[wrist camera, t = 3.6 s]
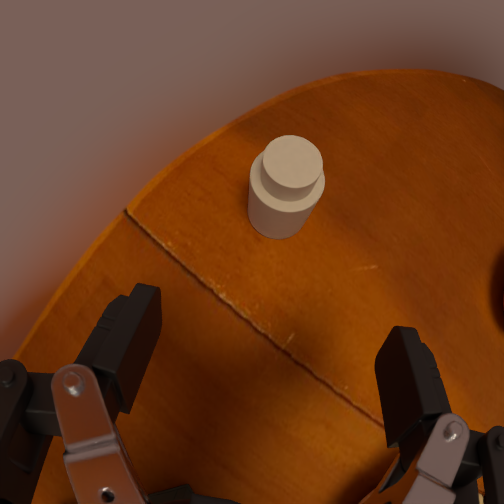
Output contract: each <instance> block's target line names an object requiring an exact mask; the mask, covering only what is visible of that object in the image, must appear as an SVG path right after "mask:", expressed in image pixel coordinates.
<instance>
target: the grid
mask: <svg viewBox="0 0 504 504" xmlns="http://www.w3.org/2000/svg"><path fill="white" fill-rule="evenodd" d="M192 493H193V494H195V493H194V492H193V490H192V489H191V488H190V486H189V484H186V485H182V486H179V487H175V488H172V489H168V490H164V491H160V492H156V493H152V494H148V497H149V499H150V500H151V502H152V504H161V503H164V502H168V501H173V500H181V499H191V494H192Z"/></svg>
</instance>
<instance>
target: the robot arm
mask: <svg viewBox="0 0 504 504" xmlns="http://www.w3.org/2000/svg"><path fill="white" fill-rule="evenodd" d="M161 327H162V309H161V291H160V288H159V287H156V286H151V285H146V284H142V283H137V284H136V285H135V287H134V289H133V290H132V292H131V294H130V295H129V297H128V296H124V295H120V296H118V297H117V298H116V299H114V300H113V301H112V302H110V303H109V304H108V306H107V308H106V309H105V311H104V312H103V314H102V317H100V319H99V321H98V322H97V325H96V326H95V327H94V329H93V331H92V333H91V334H90V336H89V338H88V339H87V341H86V343H85V345H84V346H83V348H82V350H81V352H80V353H79V355H78V357H77V359H76V360H75V362H74V363H73V364H69V365H66V366H63V367H62V368H60V369H59V370H58V371H57V372H56V373H33V372H27V370H26V368H25V367H24V365H23V364H22V363H21V362H19V361H17V360H13V359H8V360H4V361H1V362H0V504H31V502H32V499H33V495H34V492H35V489H36V486H37V482H38V479H39V476H40V473H41V470H42V467H43V464H44V461H45V458H46V455H47V452H48V449H49V447H50V444H51V441H52V438H53V436H62V438H63V442H64V445H65V452H64V453H63V459H64V464H65V467H66V470H67V474H68V477H69V480H70V483H71V485H72V488H73V491H74V494H75V496H76V499H77V502H78V504H152V502H151V500H150V499H149V497H148V495H147V493H146V491H145V489H144V487H143V485H142V483H141V481H140V479H139V477H138V475H137V473H136V471H135V469H134V467H133V465H132V462H131V460H130V458H129V456H128V453H127V451H126V448H125V446H124V444H123V441H122V439H121V436H120V434H119V431H118V429H117V426H116V423H115V421H116V419H117V416H118V413H119V411H120V412H123V413H126V414H130V411H131V408H132V406H133V403H134V400H135V398H136V395H137V392H138V390H139V387H140V384H141V382H142V379H143V377H144V374H145V371H146V369H147V366H148V364H149V361H150V359H151V356H152V354H153V351H154V348H155V346H156V344H157V341H158V339H159V336H160V332H161ZM375 374H376V380H377V385H378V391H379V396H380V402H381V408H382V414H383V420H384V427H385V433H386V441H387V448H392V447H399V450H400V453H399V454H398V455H397V456H396V457H395V459H394V461H393V462H392V464H391V466H390V467H389V469H388V470H387V472H386V474H385V475H384V477H383V478H382V480H381V481H380V483H379V484H378V486H377V487H376V489H375V490H374V492H373V493H372V494H371V496H370V497H369V498H368V499H367V500H366V501H365V502H364V503H362V504H480V502H479V494H478V486H477V479H478V478H480V477H481V476H483V482H484V489H485V497H486V503H485V504H504V427H502V426H494V427H493V428H491V429H490V430H489V431H488V432H487V433H481V432H477V431H473V430H469V428H468V426H467V424H466V422H465V421H464V420H463V419H462V418H461V417H460V416H458V415H456V414H453V413H452V411H451V408H450V405H449V401H448V398H447V395H446V391H445V388H444V385H443V382H442V379H441V378H440V373H439V370H438V368H437V364H436V361H435V358H434V355H433V353H432V352H431V351H430V349H429V348H428V347H427V345H426V344H425V343H421V340H420V338H419V335H418V332H417V330H416V329H415V328H413V327H403V326H394V327H393V328H392V330H391V331H390V333H389V335H388V337H387V338H386V340H385V342H384V343H383V345H382V347H381V348H380V350H379V352H378V354H377V356H376V359H375ZM161 504H240V503H238V502H235V501H232V500H228V499H221V498H215V497H209V496H203V495H198V494H193V493H192V494H191V499H181V500H173V501H168V502H164V503H161Z"/></svg>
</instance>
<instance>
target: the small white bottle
mask: <svg viewBox="0 0 504 504" xmlns="http://www.w3.org/2000/svg"><path fill="white" fill-rule="evenodd" d="M322 168H323V161H322V157H321V154H320V152H319V151H318V149H317V148H316V147H315V146H314V145H313V144H312V143H311V142H310V141H308V140H306V139H304V138H302V137H298V136H292V135H288V136H282V137H279V138H276V139H274V140H273V141H272V142H270V143H269V144H268V145H267V147H266V148H265V150H264V151H263V152H262V153H260V154H259V155H258V156H257V158H256V159H255V160H254V162H253V164H252V167H251V170H250V181H249V197H248V217H249V220H250V222H251V224H252V226H253V227H254V228H255V229H256V230H257V231H258V232H259V233H260V234H262V235H264V236H266V237H268V238H272V239H284V238H288V237H291V236H292V235H294V234H296V233H297V232H298V231H299V230H300V229H301V227H302V226H303V224H304V223H305V221H306V220H307V218H308V216H309V215H310V213H311V211H312V210H313V208H314V207H315V205H316V203H317V202H318V200H319V198H320V197H321V195H322V193H323V190H324V186H325V177H324V172H323V170H322Z"/></svg>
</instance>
